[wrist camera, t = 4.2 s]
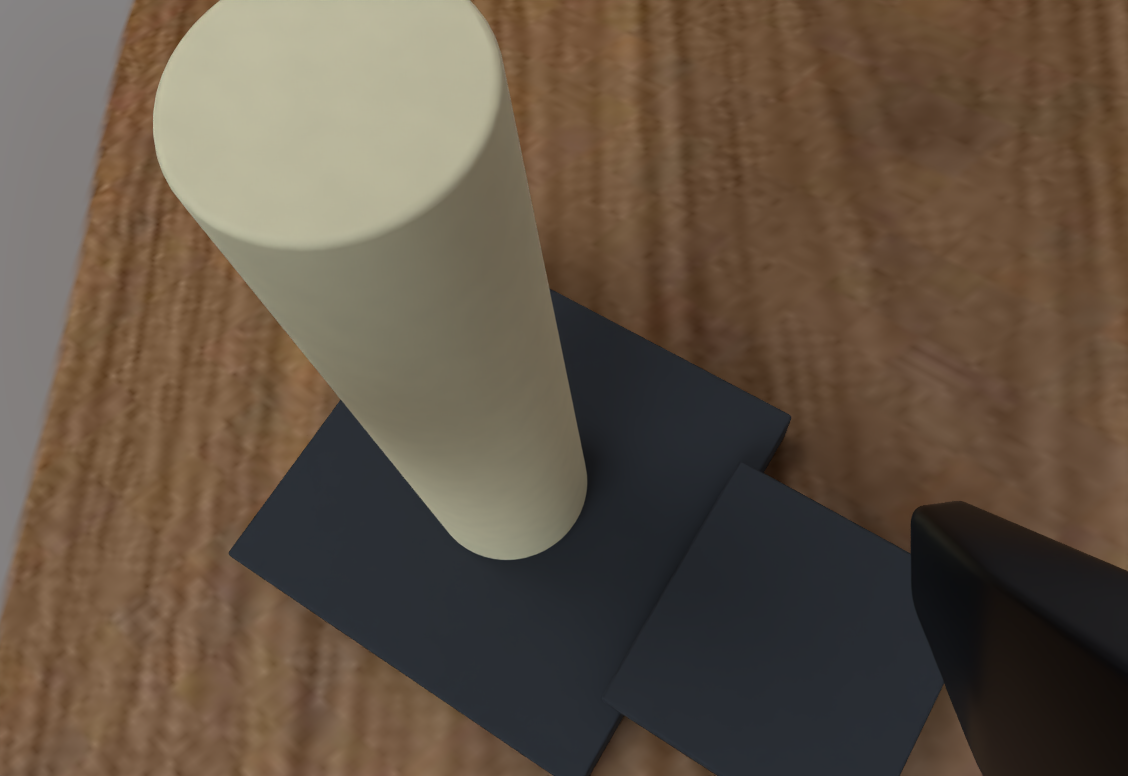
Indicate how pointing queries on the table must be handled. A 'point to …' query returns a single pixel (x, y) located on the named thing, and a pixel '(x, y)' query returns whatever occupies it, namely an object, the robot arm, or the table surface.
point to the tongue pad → (628, 586)
